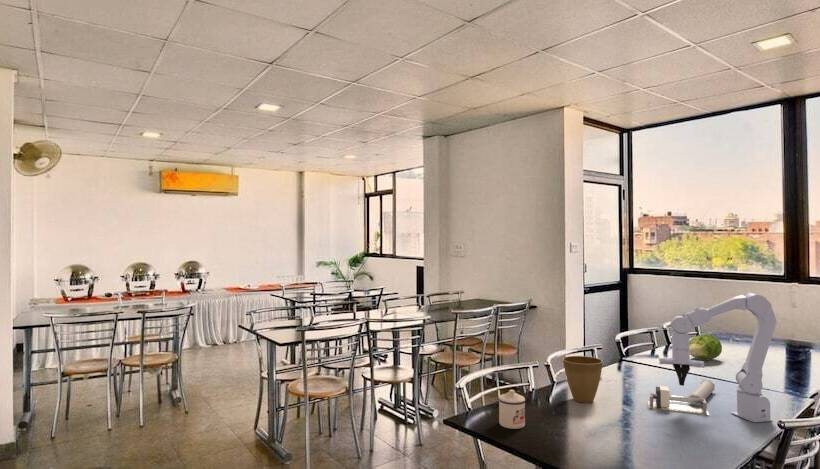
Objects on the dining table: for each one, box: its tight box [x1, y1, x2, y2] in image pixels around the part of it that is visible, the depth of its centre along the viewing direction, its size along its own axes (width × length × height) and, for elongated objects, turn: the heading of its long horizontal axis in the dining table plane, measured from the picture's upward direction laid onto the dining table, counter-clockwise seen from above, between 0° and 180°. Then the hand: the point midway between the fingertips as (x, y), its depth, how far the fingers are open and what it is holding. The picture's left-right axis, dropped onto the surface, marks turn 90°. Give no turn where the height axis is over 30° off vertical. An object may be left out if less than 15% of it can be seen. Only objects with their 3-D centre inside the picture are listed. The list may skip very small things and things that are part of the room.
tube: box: [688, 379, 715, 407], centre depth 191 cm, size 5×5×25 cm
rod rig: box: [647, 392, 710, 416], centre depth 180 cm, size 20×8×5 cm, turn 66°
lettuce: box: [689, 333, 723, 361], centre depth 254 cm, size 14×23×13 cm, turn 128°
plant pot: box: [562, 355, 603, 404], centre depth 190 cm, size 15×15×16 cm
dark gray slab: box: [655, 386, 661, 407], centre depth 183 cm, size 1×6×6 cm, turn 156°
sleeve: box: [658, 385, 671, 407], centre depth 182 cm, size 3×6×6 cm, turn 156°
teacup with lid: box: [498, 389, 526, 430], centre depth 165 cm, size 12×9×12 cm
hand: (681, 384), depth 179 cm, fingers closed
